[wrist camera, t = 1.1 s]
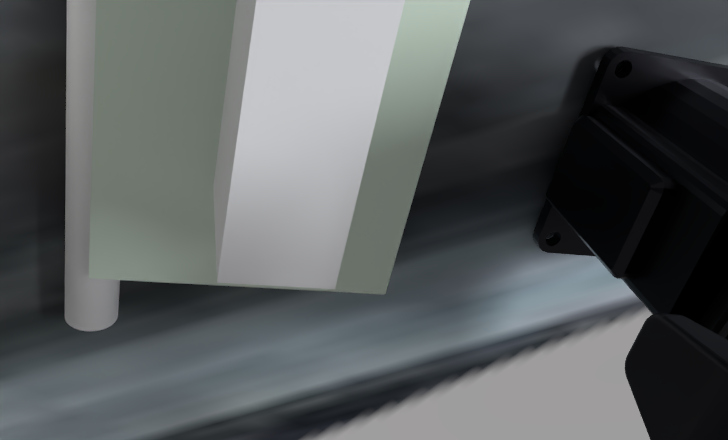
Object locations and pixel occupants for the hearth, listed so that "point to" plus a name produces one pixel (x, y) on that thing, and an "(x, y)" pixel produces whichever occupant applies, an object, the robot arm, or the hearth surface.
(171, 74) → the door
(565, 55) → the hearth surface
